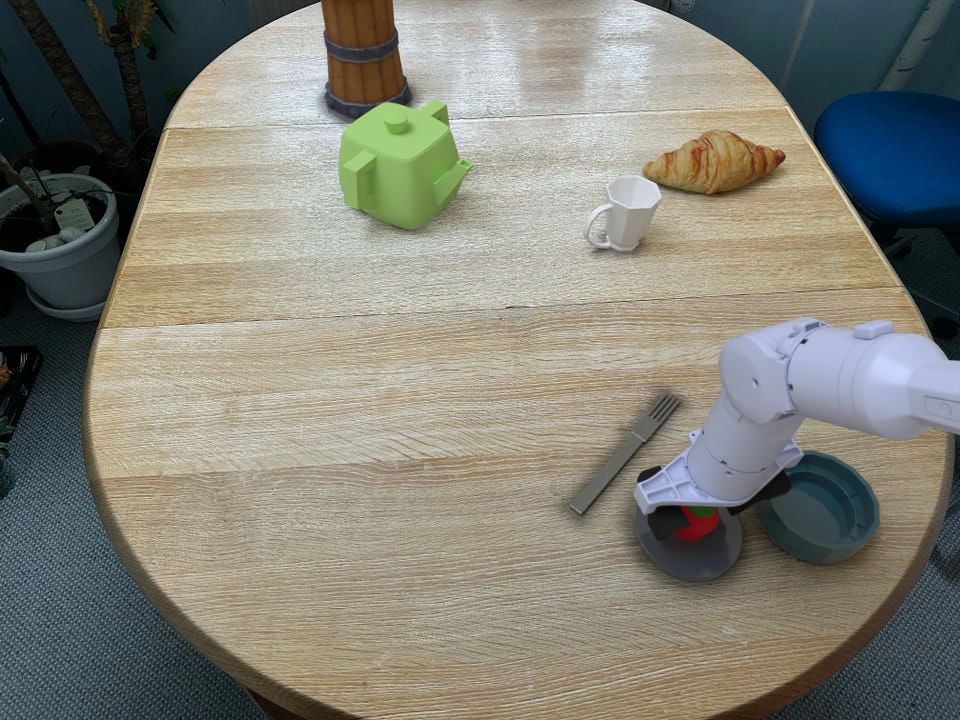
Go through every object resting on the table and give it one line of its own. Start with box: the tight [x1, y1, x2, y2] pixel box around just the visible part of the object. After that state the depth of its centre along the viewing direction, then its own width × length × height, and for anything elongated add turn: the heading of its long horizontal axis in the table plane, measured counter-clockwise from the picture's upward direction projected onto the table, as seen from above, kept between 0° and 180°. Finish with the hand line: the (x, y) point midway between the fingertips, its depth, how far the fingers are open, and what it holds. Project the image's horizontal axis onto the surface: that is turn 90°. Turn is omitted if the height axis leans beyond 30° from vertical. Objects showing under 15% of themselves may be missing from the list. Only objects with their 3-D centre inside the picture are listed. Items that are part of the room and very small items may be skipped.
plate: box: [632, 502, 743, 583], centre depth 64 cm, size 10×10×1 cm
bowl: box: [753, 449, 881, 565], centre depth 64 cm, size 10×10×4 cm
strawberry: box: [674, 506, 719, 541], centre depth 61 cm, size 4×4×5 cm
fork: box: [569, 391, 681, 517], centre depth 69 cm, size 18×2×1 cm, turn 139°
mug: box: [320, 0, 414, 123], centre depth 103 cm, size 19×14×20 cm
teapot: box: [337, 98, 474, 230], centre depth 88 cm, size 18×20×13 cm
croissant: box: [641, 128, 787, 195], centre depth 96 cm, size 21×10×8 cm, turn 100°
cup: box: [582, 174, 663, 252], centre depth 86 cm, size 7×10×8 cm
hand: (692, 517), depth 62 cm, fingers open, 7 cm apart
